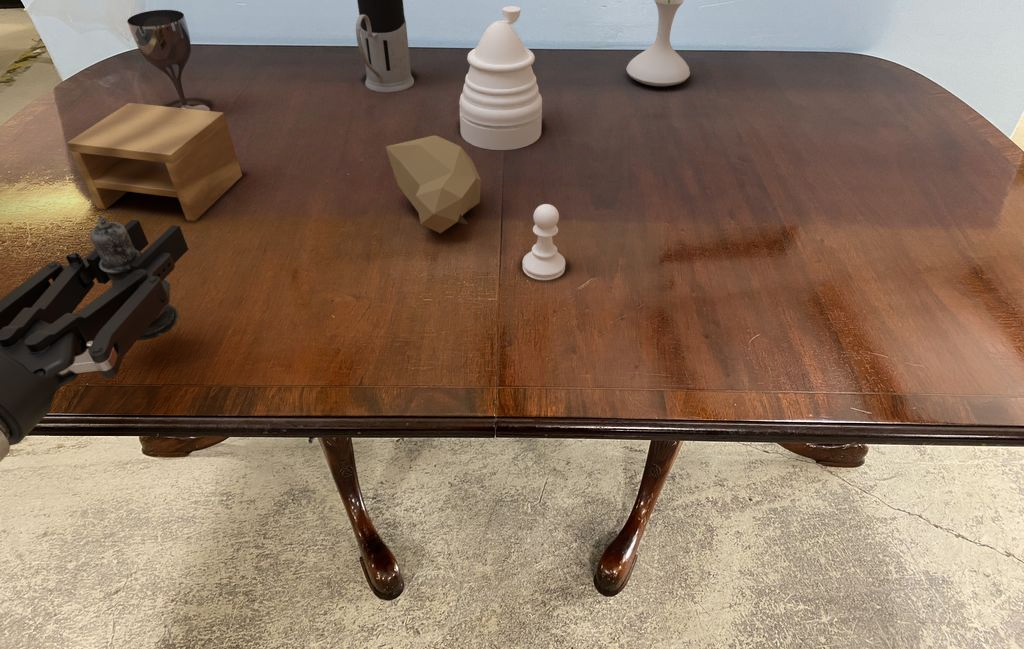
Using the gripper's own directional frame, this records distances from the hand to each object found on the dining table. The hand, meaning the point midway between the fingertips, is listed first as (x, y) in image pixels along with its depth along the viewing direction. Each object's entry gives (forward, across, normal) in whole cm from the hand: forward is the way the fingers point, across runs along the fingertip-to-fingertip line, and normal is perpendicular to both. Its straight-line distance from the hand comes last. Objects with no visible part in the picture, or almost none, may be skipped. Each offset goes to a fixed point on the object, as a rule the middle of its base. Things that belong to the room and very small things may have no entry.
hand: (160, 234), depth 64 cm
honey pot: (+51, +22, -11) cm, 57 cm away
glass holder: (+63, -2, -12) cm, 65 cm away
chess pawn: (+16, +35, -11) cm, 40 cm away
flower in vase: (+77, +45, -11) cm, 90 cm away
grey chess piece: (-5, 0, -7) cm, 9 cm away
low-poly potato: (+24, +20, -11) cm, 34 cm away
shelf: (+22, -17, -11) cm, 30 cm away
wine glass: (+46, -30, -12) cm, 56 cm away
